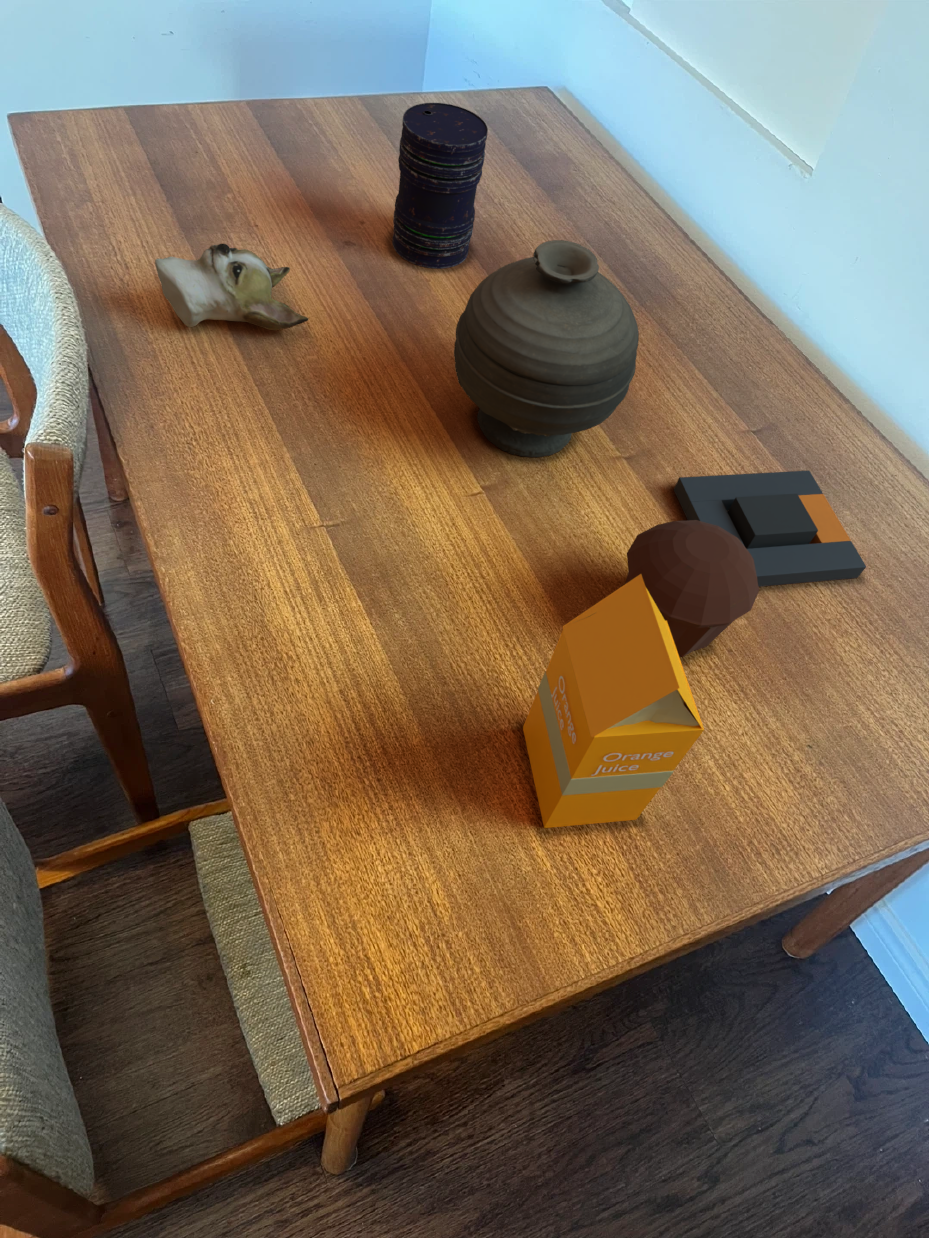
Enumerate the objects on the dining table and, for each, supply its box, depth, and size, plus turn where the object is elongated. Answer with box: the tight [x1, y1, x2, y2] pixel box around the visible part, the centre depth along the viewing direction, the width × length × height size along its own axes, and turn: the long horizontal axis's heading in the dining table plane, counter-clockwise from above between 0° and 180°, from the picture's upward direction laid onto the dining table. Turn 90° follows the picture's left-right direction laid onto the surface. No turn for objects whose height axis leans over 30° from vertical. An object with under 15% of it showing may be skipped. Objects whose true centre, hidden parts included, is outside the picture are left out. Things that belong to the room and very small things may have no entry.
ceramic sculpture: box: [154, 243, 310, 331], centre depth 93 cm, size 11×9×15 cm
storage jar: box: [391, 102, 489, 270], centre depth 104 cm, size 10×10×15 cm
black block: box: [727, 494, 818, 549], centre depth 88 cm, size 7×5×3 cm
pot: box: [453, 239, 640, 458], centre depth 85 cm, size 18×18×20 cm
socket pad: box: [673, 470, 867, 588], centre depth 88 cm, size 15×13×2 cm
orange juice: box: [522, 574, 705, 829], centre depth 62 cm, size 8×9×20 cm
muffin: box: [624, 520, 760, 658], centre depth 77 cm, size 12×11×10 cm
